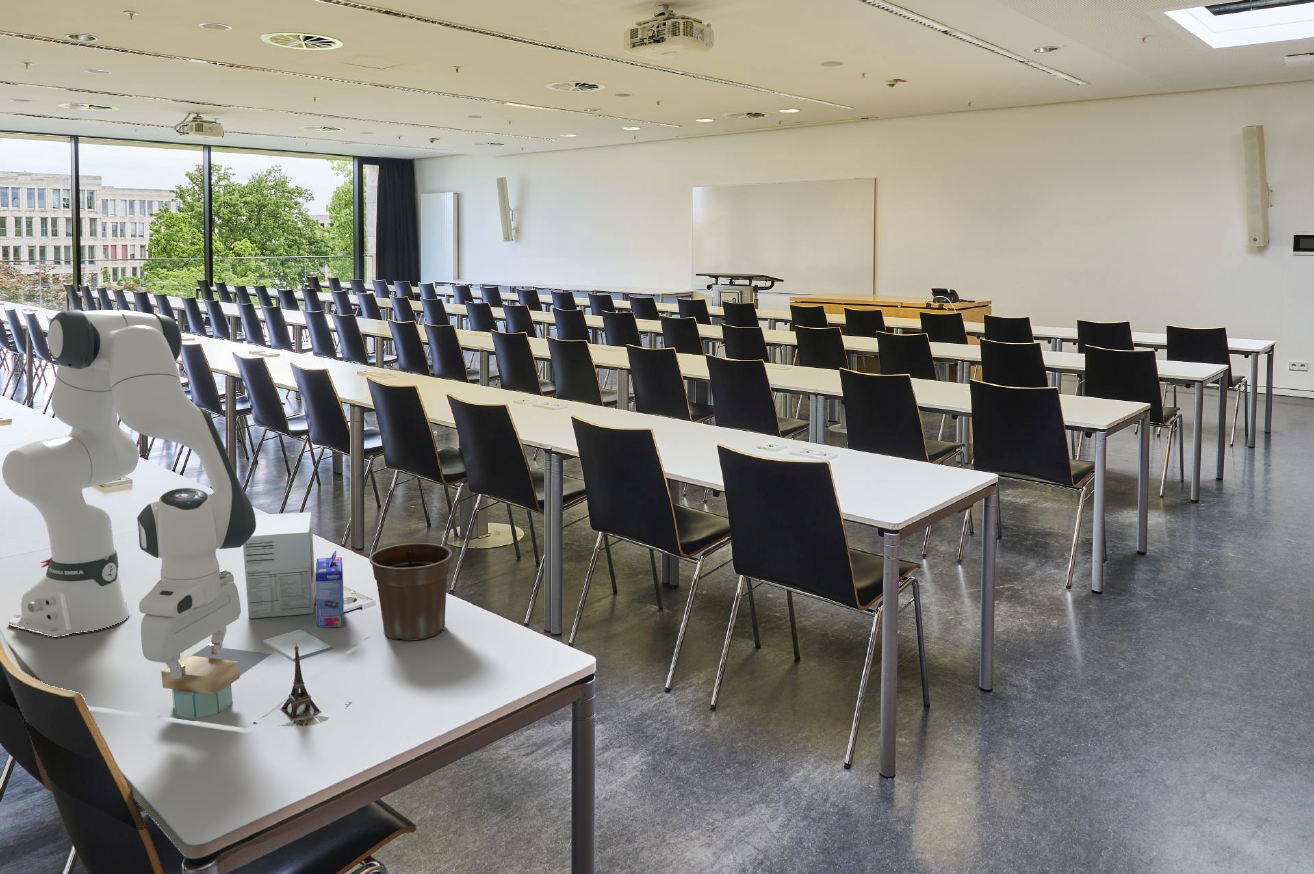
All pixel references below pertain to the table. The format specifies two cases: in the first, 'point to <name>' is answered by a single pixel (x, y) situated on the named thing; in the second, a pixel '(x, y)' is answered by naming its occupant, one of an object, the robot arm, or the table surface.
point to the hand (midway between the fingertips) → (197, 664)
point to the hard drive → (303, 640)
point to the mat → (235, 657)
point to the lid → (203, 675)
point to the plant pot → (412, 588)
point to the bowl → (200, 702)
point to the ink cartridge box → (329, 592)
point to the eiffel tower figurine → (300, 702)
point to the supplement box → (280, 566)
